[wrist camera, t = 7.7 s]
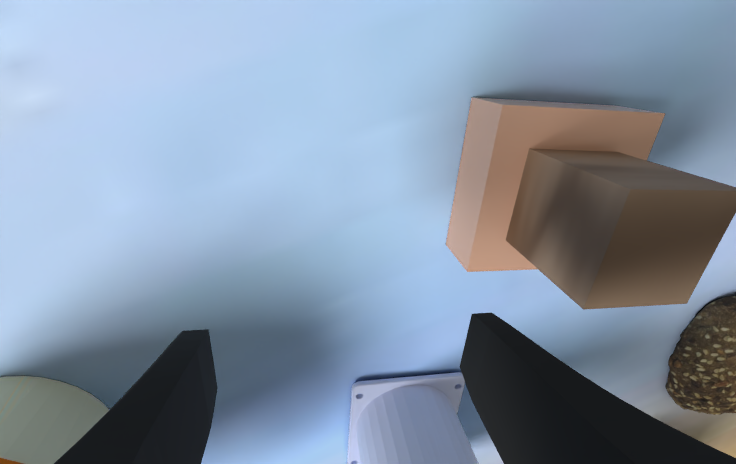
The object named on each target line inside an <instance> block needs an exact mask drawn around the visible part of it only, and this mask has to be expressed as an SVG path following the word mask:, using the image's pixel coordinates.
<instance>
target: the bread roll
mask: <svg viewBox="0 0 736 464" xmlns="http://www.w3.org/2000/svg"><path fill="white" fill-rule="evenodd" d="M680 337H681V339H680V341H679V342H678V343H677V345H676V348H675V350H674V352H673V354H672V355H671V356H670V359H669V362H668V365H669V367H670V371H669V375H668V381H667V384H666V389H667V391H668V393H669V395H670V396H671V397H672V398H673V400H674V401H675V403H676V404H677V405H679V406H680V407H682V408H683V409H689V410H693V411H697V412H699V413H701V412H704V413H707V414H714V415H715V414H722V413H736V296H728V297H723V298H720V299H717V300H715V301H713V302H711V303H710V304H708V305H706V306H705V307H704V308H703V309H702V310H701V311H700V312H699V313H698V315H697V316H696V317H695V318H694V319H693V320H692V321H691V322H690V324H689V325H688V326H687V328H686V329H685V330H684V331H683V332H682V334H681V335H680Z"/></svg>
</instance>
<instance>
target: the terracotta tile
mask: <svg viewBox="0 0 736 464" xmlns="http://www.w3.org/2000/svg"><path fill="white" fill-rule="evenodd" d="M664 116H665V113H659V112H653V111H647V110H640V109H634V108H628V107H621V106H615V105H599V104H581V103H564V102H547V101H529V100H512V99H494V98H477V97H472V98H471V104H470V109H469V115H468V121H467V126H466V132H465V138H464V143H463V149H462V155H461V161H460V166H459V172H458V178H457V183H456V189H455V195H454V200H453V206H452V212H451V217H450V223H449V229H448V234H447V240H446V245H447V247H448V248H449V249H450V250H451V252H452V253H453V254H454V256H455V257H456V258H457V259H458V261H459V262H460V263H461V264H462V266H463V267H464V268H465V270H466V271H467V272H475V271H502V270H529V269H537V268H536V267H535V266H534V265H533V264H532V263H531V262H529V261H528V260H527V259H526V258H525V257H524V256H523V255H522V254H520V253H519V252H518V251H517V250H516V249H515V248H514V247H513V246H511V245H510V244H509V243H508V242H507V241H506V236H507V232H508V229H509V225H510V221H511V217H512V213H513V209H514V205H515V201H516V197H517V194H518V190H519V186H520V182H521V178H522V174H523V170H524V166H525V162H526V159H527V155H528V151H529V149H554V150H583V151H611V152H620V153H623V154H626V155H630V156H633V157H636V158H639V159H643V160H646V161H647V159H648V156H649V154H650V151H651V148H652V146H653V143H654V141H655V138H656V136H657V133H658V131H659V128H660V126H661V123H662V121H663V118H664Z"/></svg>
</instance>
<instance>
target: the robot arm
mask: <svg viewBox="0 0 736 464" xmlns="http://www.w3.org/2000/svg"><path fill="white" fill-rule="evenodd" d="M460 369H461V372H462V373H460V372H457V373H446V374H434V375H423V376H412V377H401V378H390V379H379V380H368V381H358V382H356V383H354V384H353V385H352V392H351V407H350V423H349V438H348V453H347V464H479V463H478V461H477V459H476V457H475V454H474V452H473V450H472V448H471V445H470V443H469V441H468V438H467V436H466V434H465V432H464V429H463V427H462V425H461V423H460V420H459V418H458V416H457V413H458V409H459V405H460V401H461V397H462V393H463V389H464V385H465V383H466V386H467V389H468V391H469V394H470V397H471V399H472V402H473V404H474V406H475V408H476V410H477V412H478V414H479V416H480V418H481V420H482V422H483V424H484V426H485V428H486V429H487V431H488V433H489V435H490V437H491V439H492V441H493V443H494V445H495V447H496V449H497V451H498V453H499V455H500V457H501V459H502V461H503V463H504V464H736V458H734V457H732V456H730V455H728V454H725V453H723V452H721V451H719V450H717V449H715V448H712V447H710V446H708V445H706V444H704V443H702V442H700V441H698V440H696V439H694V438H692V437H690V436H688V435H686V434H684V433H682V432H680V431H678V430H676V429H674V428H672V427H670V426H668V425H666V424H664V423H663V422H661V421H659V420H657V419H655V418H653V417H651V416H650V415H648V414H646V413H644V412H642V411H641V410H639V409H637V408H635V407H634V406H632V405H630V404H628V403H626V402H625V401H623V400H621V399H619V398H618V397H616V396H614V395H613V394H611V393H609V392H608V391H606V390H605V389H603V388H601V387H600V386H598V385H597V384H595V383H594V382H592V381H590V380H589V379H587V378H586V377H584V376H583V375H581V374H579V373H578V372H576V371H575V370H573V369H572V368H570V367H569V366H567V365H566V364H564V363H563V362H562V361H560V360H559V359H557V358H556V357H554V356H553V355H551V354H550V353H549V352H547V351H546V350H544V349H543V348H541V347H540V346H539V345H537V344H536V343H534V342H533V341H532V340H530V339H529V338H527V337H526V336H525V335H523V334H522V333H520V332H519V331H518V330H516V329H515V328H513V327H512V326H511V325H509V324H508V323H506V322H505V321H503V320H502V319H500V318H499V317H497V316H496V315H494V314H493V313H478V314H472V316H471V320H470V325H469V329H468V333H467V338H466V342H465V346H464V351H463V355H462V359H461V364H460ZM216 393H217V382H216V376H215V369H214V363H213V356H212V350H211V343H210V336H209V330H191V331H182V332H181V333H180V334H179V335H178V336H177V337H176V338H175V340H174V341H173V342H172V343H171V344H170V345H169V346H168V347H167V349H166V350H165V351H164V352H163V353H162V354H161V355H160V357H159V358H158V359H157V360H156V361H155V362H154V363H153V364H152V365H151V367H150V368H149V369H148V370H147V371H146V372H145V373H144V374H143V375H142V377H141V378H140V379H139V380H138V381H137V382H136V383H135V384H134V385H133V386H132V387H131V388H130V389H129V390H128V391H127V392H126V394H125V395H124V396H123V397H122V398H121V399H120V400H119V401H118V402H117V403H116V404H115V405H114V406H113V407H112V408H111V409H110V410H109V411H108V412H107V413H106V414H105V415H104V416H103V417H102V418H101V419H100V420H99V421H98V422H97V423H96V424H95V425H94V426H93V427H92V428H91V429H90V430H89V431H88V432H87V433H86V434H85V435H84V436H83V437H82V438H81V439H80V440H79V441H78V442H76V443H75V444H74V445H73V446H72V447H71V448H70V449H69V450H68V451H67V452H66V453H65V454H64V455H62V456H61V457H60V458H59V459H58V460H57V461H56V462H55V463H54V464H201V461H202V458H203V454H204V450H205V447H206V443H207V440H208V436H209V432H210V429H211V423H212V418H213V412H214V406H215V399H216Z"/></svg>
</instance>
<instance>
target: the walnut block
mask: <svg viewBox="0 0 736 464" xmlns="http://www.w3.org/2000/svg"><path fill="white" fill-rule="evenodd" d="M735 213H736V187H732V186H729V185H726V184H723V183H719V182H716V181H713V180H709V179H706V178H703V177H699V176H696V175H693V174H689V173H686V172H683V171H679V170H676V169H673V168H669V167H666V166H663V165H659V164H656V163H653V162H649V161H646V160H643V159H639V158H636V157H633V156H630V155H626V154H623V153H620V152H611V151H583V150H554V149H529V151H528V155H527V159H526V162H525V166H524V170H523V174H522V178H521V182H520V186H519V190H518V194H517V197H516V201H515V205H514V209H513V213H512V217H511V221H510V225H509V229H508V232H507V236H506V241H507V242H508V243H509V244H510V245H511V246H513V247H514V248H515V249H516V250H517V251H518V252H519V253H520V254H522V255H523V256H524V257H525V258H526V259H527V260H528V261H529V262H531V263H532V264H533V265H534V266H535V267H536V268H537V269H538V270H540V271H541V272H542V273H543V274H544V275H545V276H546V277H547V278H549V279H550V280H551V281H552V282H553V283H554V284H555V285H556V286H558V287H559V288H560V289H561V290H562V291H563V292H564V293H565V294H567V295H568V296H569V297H570V298H571V299H572V300H573V301H574V302H576V303H577V304H578V305H579V306H580V307H581V308H582V309H598V308H616V307H633V306H651V305H669V304H686V303H687V302H688V300H689V298H690V296H691V295H692V293H693V291H694V289H695V287H696V285H697V283H698V282H699V280H700V278H701V276H702V274H703V272H704V270H705V269H706V267H707V265H708V263H709V261H710V259H711V257H712V255H713V254H714V252H715V250H716V248H717V246H718V244H719V242H720V241H721V239H722V237H723V235H724V233H725V231H726V229H727V228H728V226H729V224H730V222H731V220H732V218H733V216H734V215H735Z"/></svg>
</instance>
